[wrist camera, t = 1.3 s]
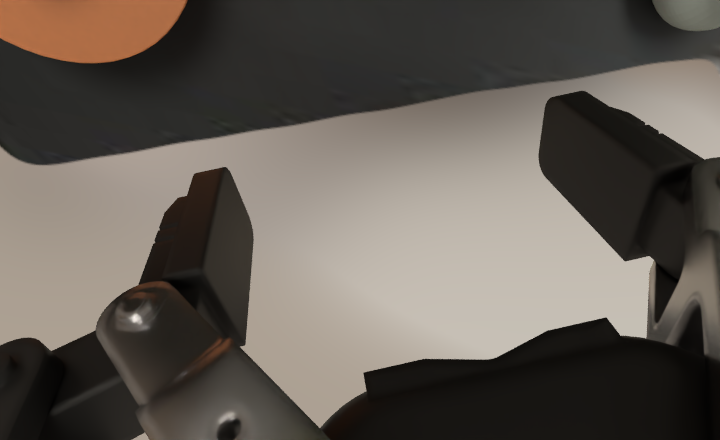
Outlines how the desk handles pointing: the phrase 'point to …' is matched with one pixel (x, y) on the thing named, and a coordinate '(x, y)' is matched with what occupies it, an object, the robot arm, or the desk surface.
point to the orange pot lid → (87, 27)
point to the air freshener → (690, 13)
